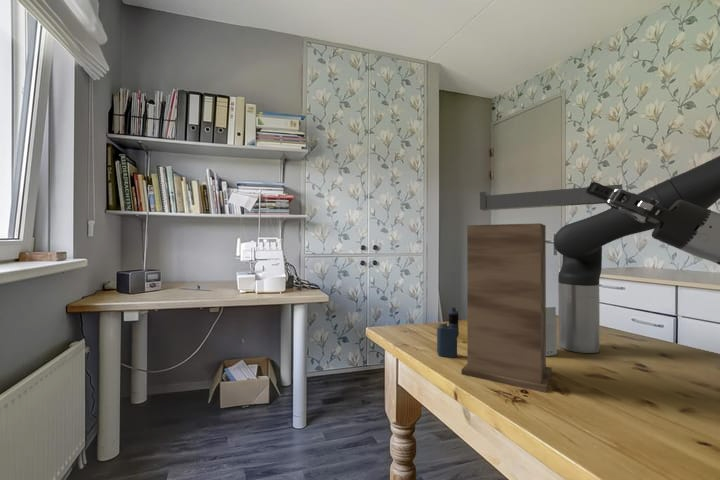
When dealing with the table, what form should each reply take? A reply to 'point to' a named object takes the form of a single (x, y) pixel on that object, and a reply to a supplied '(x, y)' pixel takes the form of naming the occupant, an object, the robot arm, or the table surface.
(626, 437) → the table surface
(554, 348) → the skincare box
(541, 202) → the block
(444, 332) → the vaping device
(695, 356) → the table surface
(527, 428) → the table surface
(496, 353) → the stand
